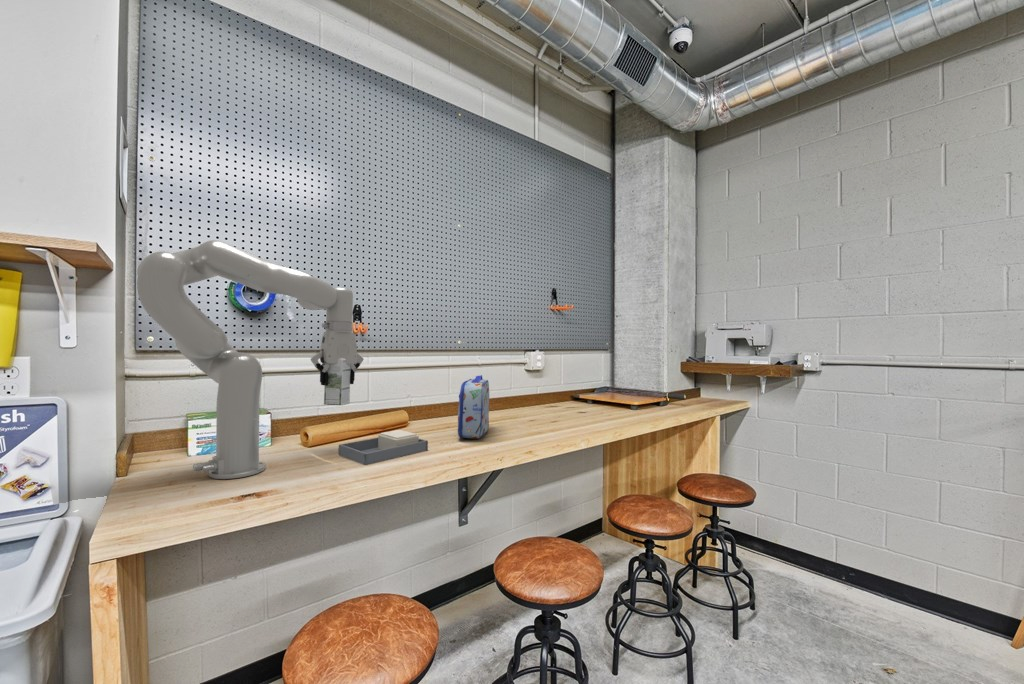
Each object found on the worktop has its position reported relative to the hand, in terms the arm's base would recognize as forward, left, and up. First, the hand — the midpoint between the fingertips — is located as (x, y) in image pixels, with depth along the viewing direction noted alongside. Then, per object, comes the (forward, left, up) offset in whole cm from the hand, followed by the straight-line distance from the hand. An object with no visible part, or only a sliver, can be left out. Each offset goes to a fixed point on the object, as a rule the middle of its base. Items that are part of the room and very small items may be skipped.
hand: (337, 384), depth 131 cm
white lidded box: (+13, -13, -20) cm, 28 cm away
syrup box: (0, 0, -6) cm, 6 cm away
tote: (+8, -13, -21) cm, 26 cm away
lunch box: (+48, -11, -22) cm, 54 cm away
